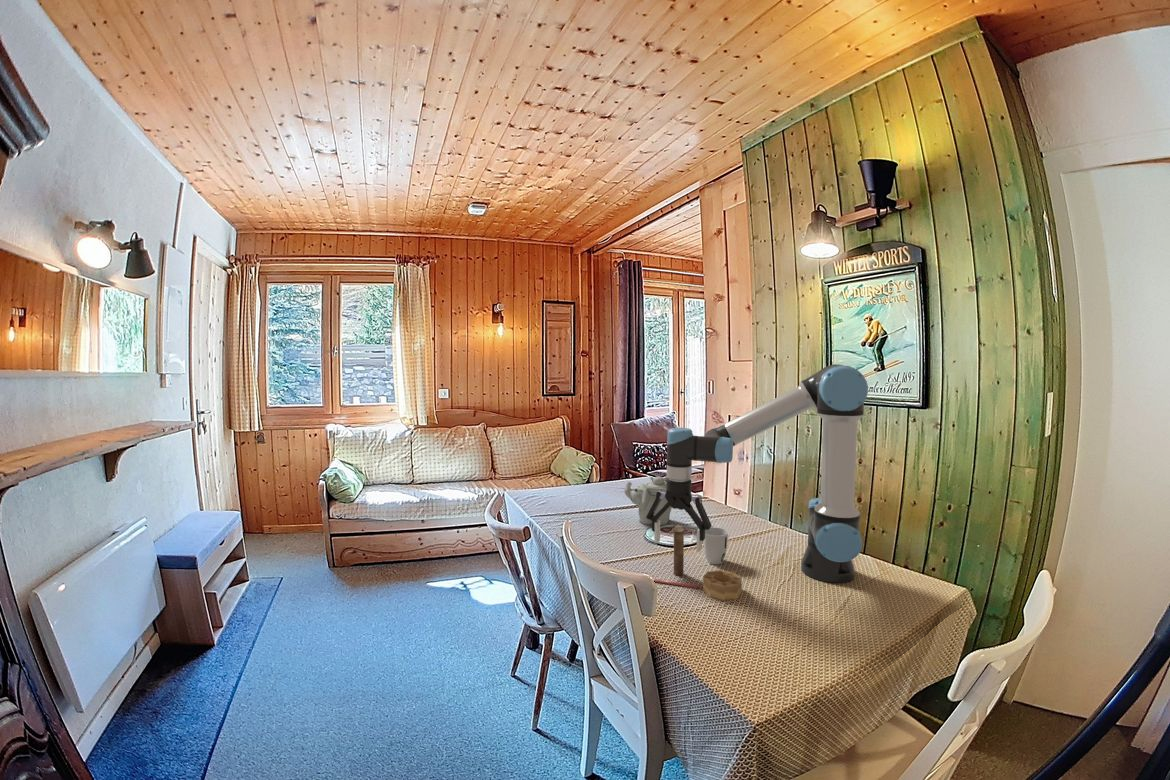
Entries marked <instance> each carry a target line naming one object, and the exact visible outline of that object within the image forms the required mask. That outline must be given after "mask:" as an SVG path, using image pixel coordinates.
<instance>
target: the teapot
mask: <svg viewBox="0 0 1170 780" xmlns="http://www.w3.org/2000/svg"><path fill="white" fill-rule="evenodd" d="M667 479H668V478H667V476H665V477H662V476H659V475H658V476H655V477H652V476H651V477H650V480H651V482H647V483H645V484H644V483H640V484H638V485H637V486H636V487H634V488H633V489H632V488H631V486H632V485H633V483H632V482H631V481H628V482H627V483H626V485H625V487H624V491H623V492H624V494H625V496H626V497H627V498H629V500H630V501H631V503H632V504H634V505H636V506H637V507H638V517H639V520H638V522H639V524H641V525H644V526H645V525H646V526H647V525H648V526H649V525H652V521H651V520H650V519H647V518H646V516H647V514H648V512H649V510H650V509H651V507H652V505H653V503H654V501H655V499H656V493H657V492H658V491H660V490H662V491H663V492H665V493H666V480H667ZM667 502H668V501H667V500H666V498H665V497H664V498H663V499H661V501H660V503H659V505H658V507H657V509H656V511H655V513H654V514H653V515H654V516H655V515H656V514H657V513H658V512H659V511H660V510H661V509H662V508H663V507H664V506H665V505H666V503H667ZM672 509H673V508H672V507H671V506H670V507H669V508H668V509H667V510H666V511H665V512H664V513H663V514H662V515H661V516H660V517H659V519H658V520H659V521H660V527H661V526H665V525H667V524H668V522H669V521H670V515H671V511H672ZM658 520H657V521H658Z"/></svg>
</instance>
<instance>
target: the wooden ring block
mask: <svg viewBox="0 0 1170 780" xmlns="http://www.w3.org/2000/svg"><path fill="white" fill-rule="evenodd" d="M742 582H743V579H742V577H740V576H739V575H737V573H735V572H731V571H727V570H721V569H718V570H717V569H716V570H710V571H707V572H706V573H705V574H704V575H703V577H702V591H703V592H704V593H705V594H706V595H707V596H709V597H710V598H713V599H718V600H723V601H728V600H729V601H730V600H736V599H738V598H739V597H740V595H741V594H742V591H743V590H742V587H743V586H742V585H743V584H742Z"/></svg>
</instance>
